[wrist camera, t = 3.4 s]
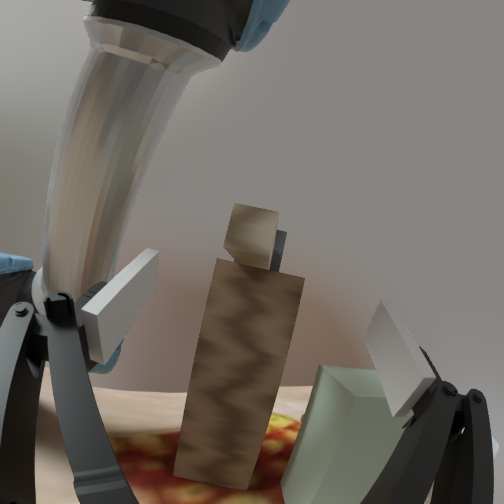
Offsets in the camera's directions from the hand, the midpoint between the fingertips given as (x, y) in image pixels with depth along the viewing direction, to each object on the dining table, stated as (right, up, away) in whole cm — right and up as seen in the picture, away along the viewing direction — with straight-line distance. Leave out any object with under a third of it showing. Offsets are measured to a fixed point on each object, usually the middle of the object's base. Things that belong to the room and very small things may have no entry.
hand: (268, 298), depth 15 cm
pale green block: (+8, -31, +8) cm, 33 cm away
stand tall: (-7, -29, +18) cm, 35 cm away
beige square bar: (-1, +1, +16) cm, 16 cm away
